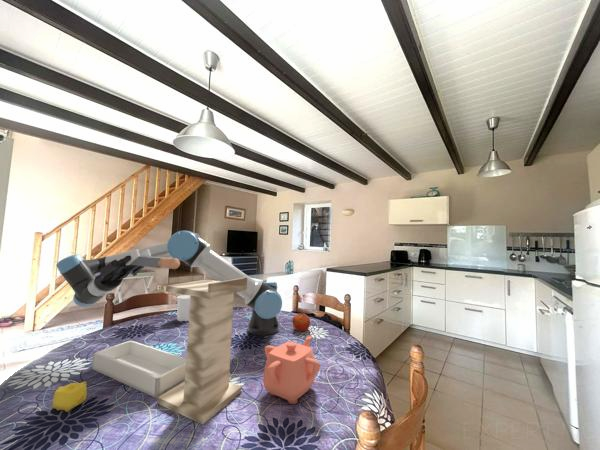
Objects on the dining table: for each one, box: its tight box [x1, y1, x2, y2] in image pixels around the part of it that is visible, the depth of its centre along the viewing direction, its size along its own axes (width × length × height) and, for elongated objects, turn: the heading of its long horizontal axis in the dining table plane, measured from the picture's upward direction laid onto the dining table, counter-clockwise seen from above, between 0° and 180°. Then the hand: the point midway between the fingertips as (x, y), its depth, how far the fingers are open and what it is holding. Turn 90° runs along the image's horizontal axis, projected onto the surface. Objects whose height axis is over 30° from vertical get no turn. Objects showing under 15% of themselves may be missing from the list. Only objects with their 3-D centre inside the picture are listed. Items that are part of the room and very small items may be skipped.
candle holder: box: [176, 294, 191, 322], centre depth 130 cm, size 10×10×12 cm
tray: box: [91, 340, 186, 399], centre depth 76 cm, size 32×12×5 cm, turn 65°
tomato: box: [292, 312, 311, 332], centre depth 119 cm, size 9×9×8 cm
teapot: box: [262, 334, 321, 405], centre depth 70 cm, size 17×16×13 cm
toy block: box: [51, 381, 88, 413], centre depth 61 cm, size 8×6×5 cm
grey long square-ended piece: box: [130, 256, 181, 270], centre depth 79 cm, size 24×3×3 cm, turn 65°
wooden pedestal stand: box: [156, 277, 247, 426], centre depth 66 cm, size 16×14×32 cm
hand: (143, 252), depth 81 cm, fingers closed on grey long square-ended piece, 3 cm apart
